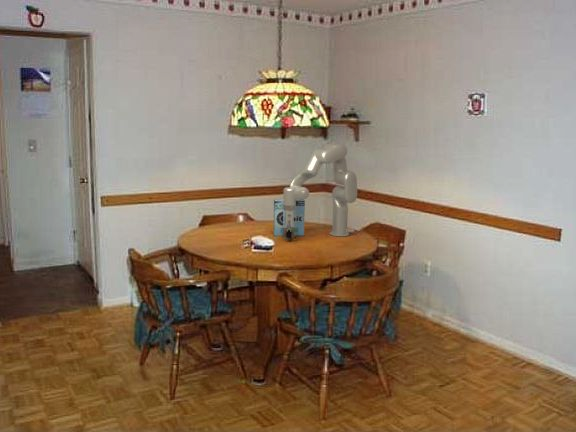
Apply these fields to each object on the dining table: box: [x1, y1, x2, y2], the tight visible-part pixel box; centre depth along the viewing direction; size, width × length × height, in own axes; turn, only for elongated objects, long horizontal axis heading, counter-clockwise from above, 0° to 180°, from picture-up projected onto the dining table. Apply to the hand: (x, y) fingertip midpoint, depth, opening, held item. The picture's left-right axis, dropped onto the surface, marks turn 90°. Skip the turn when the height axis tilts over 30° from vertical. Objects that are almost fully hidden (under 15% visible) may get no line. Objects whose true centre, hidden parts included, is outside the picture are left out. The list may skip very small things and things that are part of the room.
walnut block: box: [282, 228, 295, 242], centre depth 363 cm, size 6×9×6 cm, turn 174°
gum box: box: [273, 199, 306, 237], centre depth 372 cm, size 20×5×23 cm, turn 98°
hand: (288, 237), depth 355 cm, fingers closed
